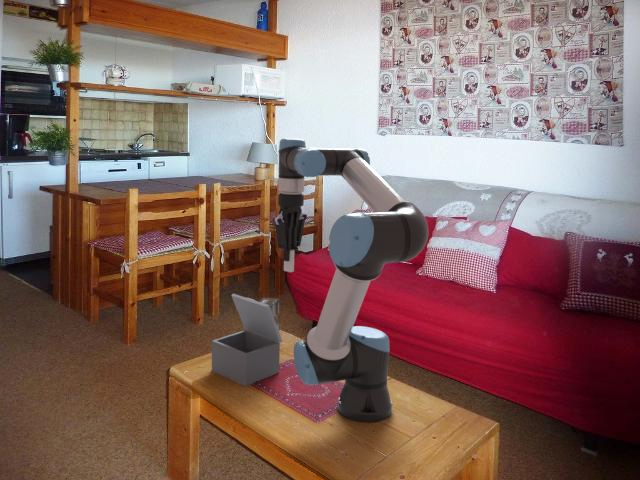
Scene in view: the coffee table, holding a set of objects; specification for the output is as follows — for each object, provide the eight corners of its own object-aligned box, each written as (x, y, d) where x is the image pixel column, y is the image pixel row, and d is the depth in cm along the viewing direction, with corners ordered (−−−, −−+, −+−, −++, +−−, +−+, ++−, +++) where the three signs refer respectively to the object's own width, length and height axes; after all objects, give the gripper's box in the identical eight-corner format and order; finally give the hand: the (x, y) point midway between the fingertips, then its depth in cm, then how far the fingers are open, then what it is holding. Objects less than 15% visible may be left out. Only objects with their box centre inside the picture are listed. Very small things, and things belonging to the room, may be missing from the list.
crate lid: (280, 343, 192) (282, 340, 192) (267, 307, 184) (269, 304, 185) (245, 329, 202) (247, 327, 203) (231, 295, 195) (233, 293, 196)
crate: (278, 373, 194) (279, 343, 192) (245, 386, 183) (246, 354, 181) (245, 358, 204) (245, 330, 202) (211, 370, 194) (211, 340, 192)
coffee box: (262, 339, 222) (263, 296, 219) (279, 341, 221) (280, 298, 217) (254, 348, 213) (255, 304, 210) (272, 350, 212) (273, 306, 209)
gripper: (295, 189, 185) (293, 265, 190) (266, 192, 175) (264, 272, 180) (315, 192, 181) (312, 269, 185) (286, 195, 170) (283, 277, 175)
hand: (288, 270), depth 183 cm, fingers closed
